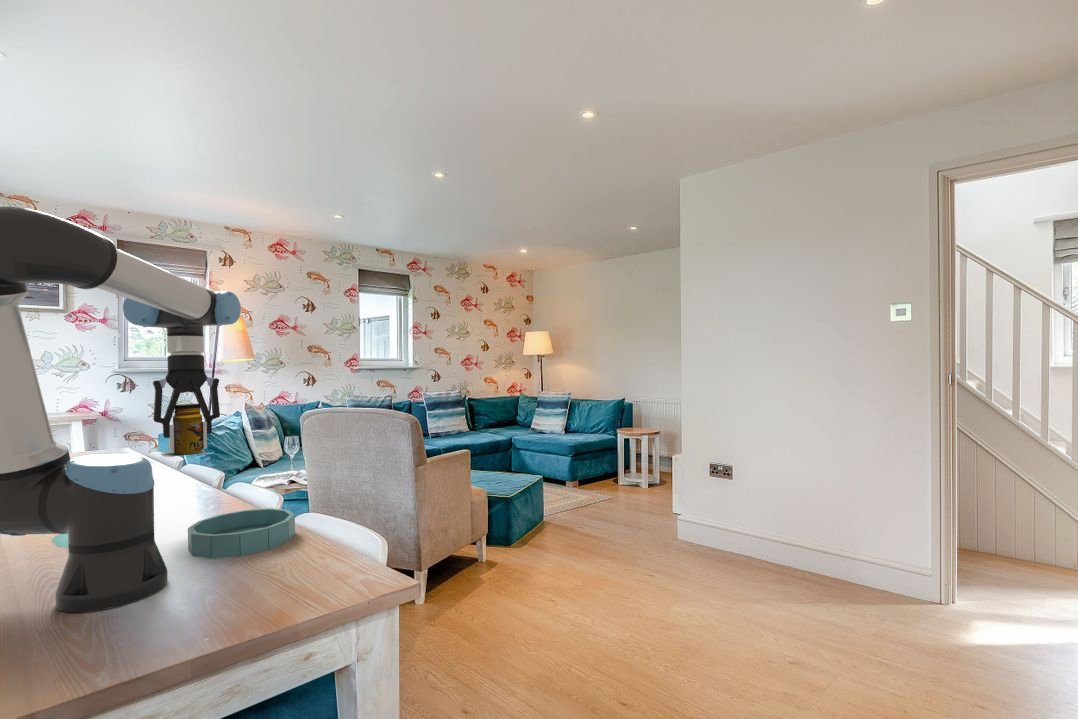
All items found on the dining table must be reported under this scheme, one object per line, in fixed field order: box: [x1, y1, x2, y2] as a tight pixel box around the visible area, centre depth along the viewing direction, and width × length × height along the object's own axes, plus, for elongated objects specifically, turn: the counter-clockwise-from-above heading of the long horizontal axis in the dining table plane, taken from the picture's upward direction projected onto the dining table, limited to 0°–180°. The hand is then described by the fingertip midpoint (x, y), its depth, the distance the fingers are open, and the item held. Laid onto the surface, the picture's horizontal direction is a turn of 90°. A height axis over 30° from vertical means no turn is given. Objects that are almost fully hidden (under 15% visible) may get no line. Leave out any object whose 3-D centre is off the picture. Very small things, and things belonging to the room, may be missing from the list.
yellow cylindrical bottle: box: [160, 403, 208, 458], centre depth 133 cm, size 7×8×12 cm
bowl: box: [187, 507, 296, 559], centre depth 120 cm, size 20×20×4 cm
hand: (188, 449), depth 133 cm, fingers closed on yellow cylindrical bottle, 6 cm apart
